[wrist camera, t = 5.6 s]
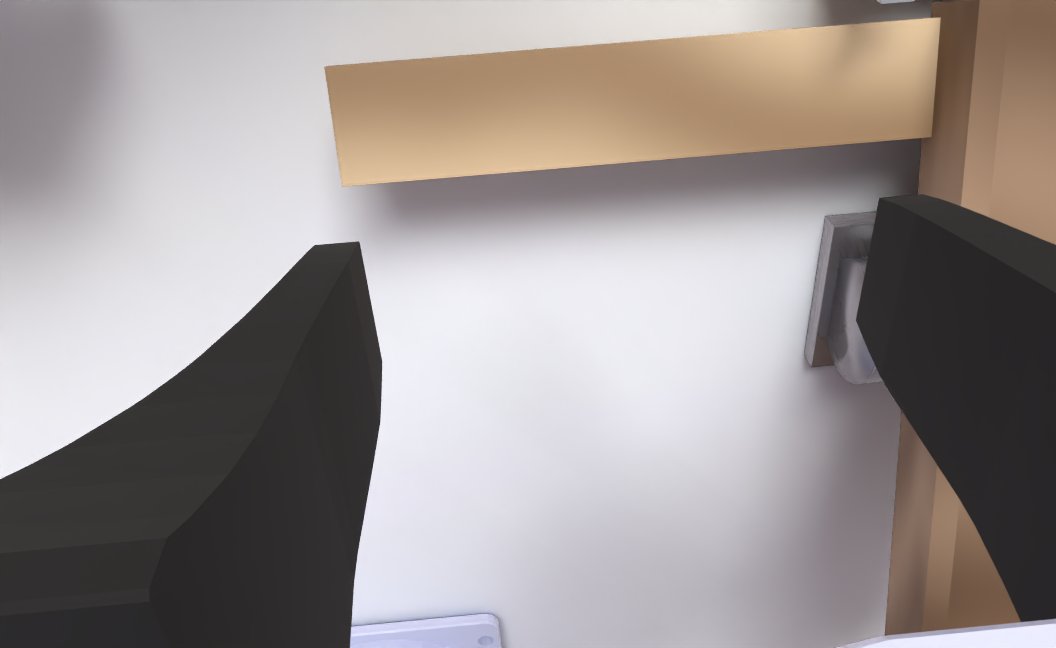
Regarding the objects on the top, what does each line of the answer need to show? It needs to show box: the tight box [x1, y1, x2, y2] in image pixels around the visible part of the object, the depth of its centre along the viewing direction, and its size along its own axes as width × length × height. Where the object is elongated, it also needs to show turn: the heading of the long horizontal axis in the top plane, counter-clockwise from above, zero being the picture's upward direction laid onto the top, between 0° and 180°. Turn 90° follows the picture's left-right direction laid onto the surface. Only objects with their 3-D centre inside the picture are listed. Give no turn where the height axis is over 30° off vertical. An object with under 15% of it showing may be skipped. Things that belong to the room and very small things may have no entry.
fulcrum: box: [804, 212, 883, 384], centre depth 22 cm, size 4×7×3 cm, turn 93°
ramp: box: [325, 0, 1056, 636], centre depth 20 cm, size 17×18×2 cm
